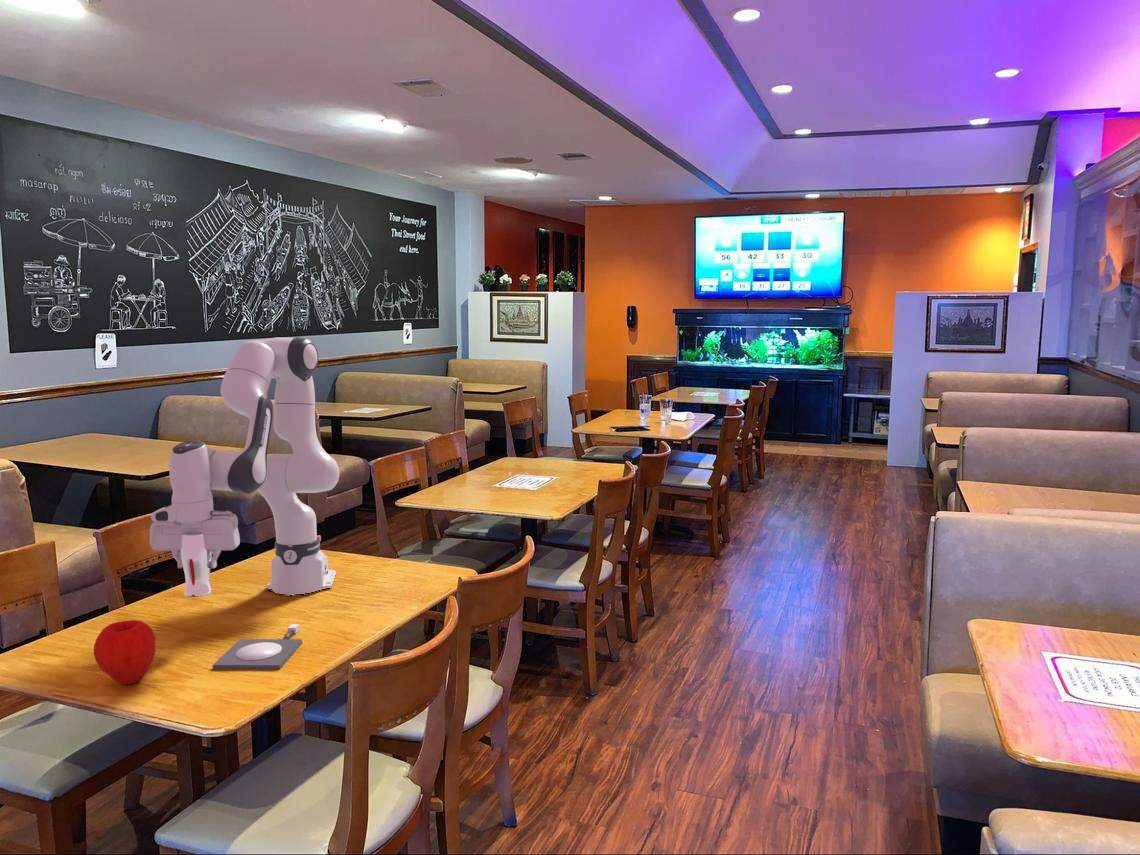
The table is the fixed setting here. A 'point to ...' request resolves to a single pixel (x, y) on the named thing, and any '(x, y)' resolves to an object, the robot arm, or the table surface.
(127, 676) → the apple
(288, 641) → the charging dock
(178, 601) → the table surface
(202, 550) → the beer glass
